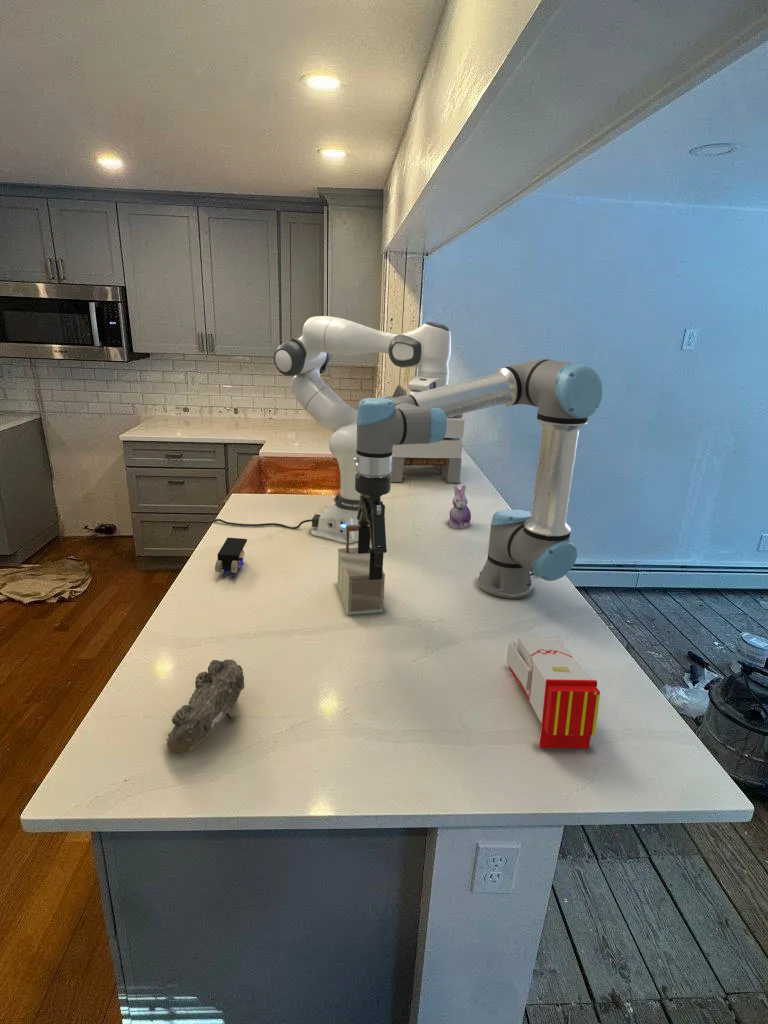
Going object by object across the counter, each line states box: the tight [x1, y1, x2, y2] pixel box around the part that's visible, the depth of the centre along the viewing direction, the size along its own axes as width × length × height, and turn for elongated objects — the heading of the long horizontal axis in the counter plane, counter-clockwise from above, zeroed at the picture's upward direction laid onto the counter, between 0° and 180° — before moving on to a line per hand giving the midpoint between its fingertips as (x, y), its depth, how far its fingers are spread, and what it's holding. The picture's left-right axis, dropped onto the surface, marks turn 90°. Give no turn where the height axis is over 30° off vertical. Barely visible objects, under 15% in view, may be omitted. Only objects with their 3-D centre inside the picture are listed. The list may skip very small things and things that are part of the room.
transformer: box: [389, 384, 465, 484], centre depth 268 cm, size 34×33×41 cm
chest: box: [337, 552, 386, 616], centre depth 153 cm, size 17×9×10 cm, turn 13°
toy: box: [505, 636, 601, 749], centre depth 115 cm, size 12×13×30 cm
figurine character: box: [214, 537, 248, 578], centre depth 166 cm, size 7×8×15 cm
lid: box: [337, 525, 386, 580], centre depth 150 cm, size 18×9×9 cm, turn 13°
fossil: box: [166, 658, 245, 754], centre depth 106 cm, size 22×10×15 cm
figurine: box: [448, 484, 472, 529], centre depth 208 cm, size 9×10×15 cm
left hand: (429, 429), depth 168 cm, fingers open, 8 cm apart
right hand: (369, 565), depth 126 cm, fingers open, 13 cm apart
